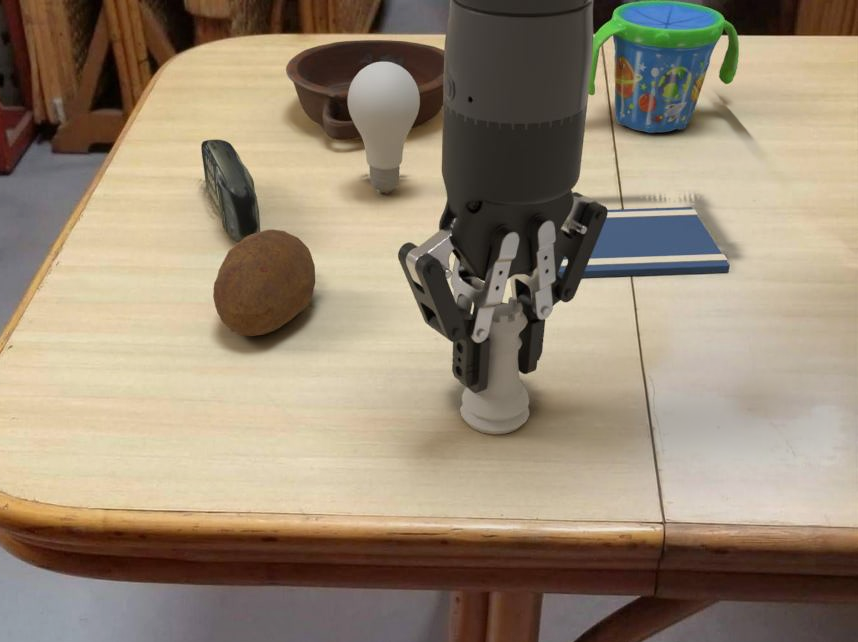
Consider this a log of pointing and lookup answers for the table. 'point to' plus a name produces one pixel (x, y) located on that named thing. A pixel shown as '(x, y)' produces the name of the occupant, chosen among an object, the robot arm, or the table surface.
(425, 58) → the dish
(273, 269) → the potato
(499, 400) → the rook chess piece
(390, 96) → the lightbulb
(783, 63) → the table surface
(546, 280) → the robot arm
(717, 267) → the towel
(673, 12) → the snack cup
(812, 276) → the table surface
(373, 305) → the table surface
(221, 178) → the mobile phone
